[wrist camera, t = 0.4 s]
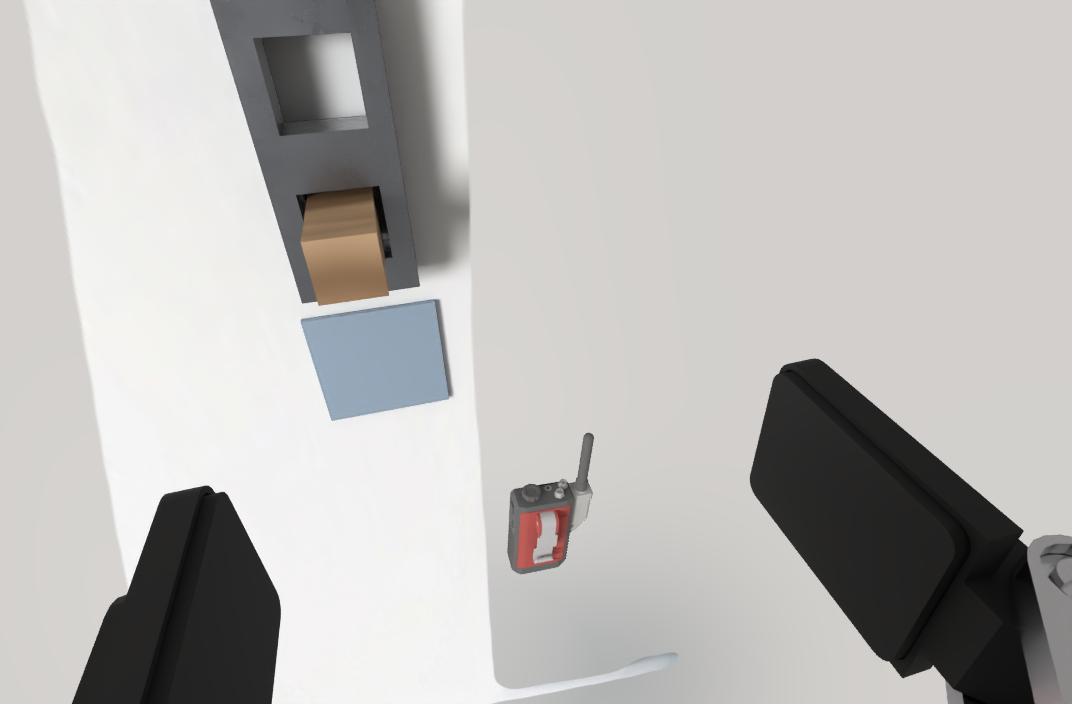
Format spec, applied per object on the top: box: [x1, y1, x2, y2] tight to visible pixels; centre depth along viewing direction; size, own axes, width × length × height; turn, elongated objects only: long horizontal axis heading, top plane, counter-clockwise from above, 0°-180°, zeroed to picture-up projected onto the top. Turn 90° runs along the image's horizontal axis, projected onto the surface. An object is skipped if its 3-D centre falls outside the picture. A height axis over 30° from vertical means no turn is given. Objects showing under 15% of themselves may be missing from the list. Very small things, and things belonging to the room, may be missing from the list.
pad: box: [301, 300, 449, 421], centre depth 47 cm, size 10×10×1 cm
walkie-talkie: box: [507, 433, 594, 574], centre depth 62 cm, size 9×4×20 cm
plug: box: [301, 187, 389, 306], centre depth 36 cm, size 4×4×9 cm
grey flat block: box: [210, 0, 420, 303], centre depth 36 cm, size 18×8×3 cm, turn 1°
